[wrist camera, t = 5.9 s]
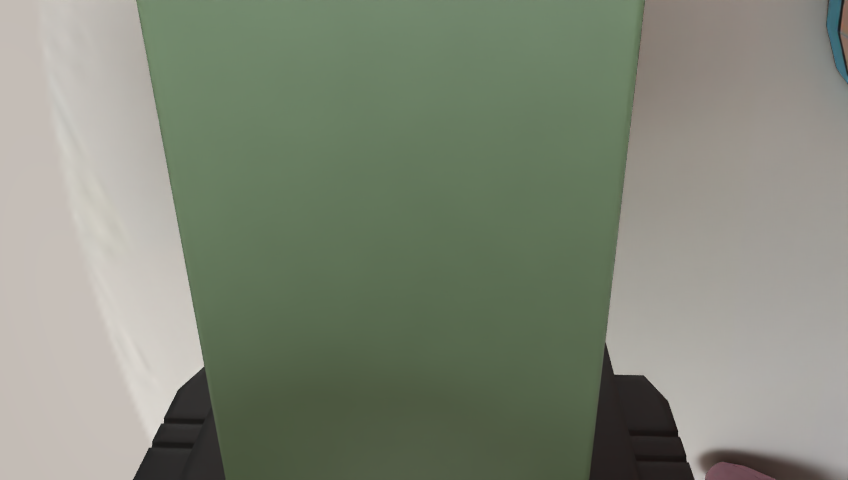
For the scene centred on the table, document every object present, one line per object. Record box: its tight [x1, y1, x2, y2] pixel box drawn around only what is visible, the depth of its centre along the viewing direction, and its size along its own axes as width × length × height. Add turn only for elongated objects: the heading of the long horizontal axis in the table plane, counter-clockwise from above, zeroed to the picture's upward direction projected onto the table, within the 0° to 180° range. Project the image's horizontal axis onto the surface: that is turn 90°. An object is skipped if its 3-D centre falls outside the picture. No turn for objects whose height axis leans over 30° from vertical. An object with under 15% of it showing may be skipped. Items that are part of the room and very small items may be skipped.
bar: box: [136, 0, 645, 480], centre depth 10 cm, size 14×4×4 cm, turn 1°
